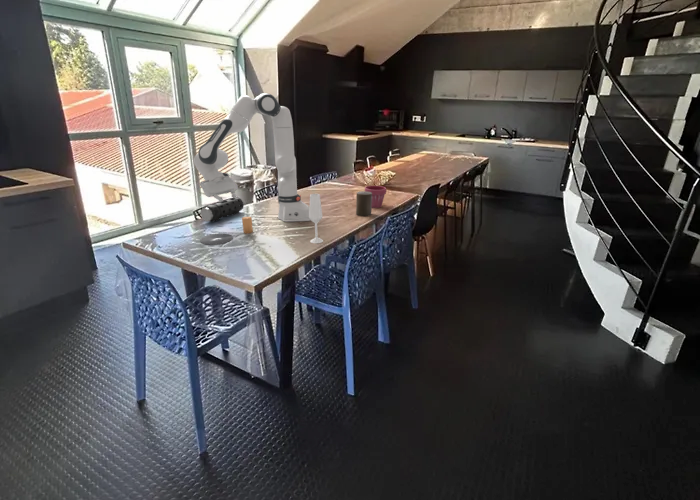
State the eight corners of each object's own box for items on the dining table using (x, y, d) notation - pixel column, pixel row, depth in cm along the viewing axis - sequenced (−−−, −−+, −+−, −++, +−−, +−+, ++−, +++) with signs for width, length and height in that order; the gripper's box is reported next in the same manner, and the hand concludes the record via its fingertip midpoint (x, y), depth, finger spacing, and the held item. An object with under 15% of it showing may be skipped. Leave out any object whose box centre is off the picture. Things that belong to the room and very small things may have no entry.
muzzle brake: (244, 213, 242) (243, 197, 239) (213, 225, 219) (210, 207, 215) (233, 211, 246) (231, 195, 242) (201, 223, 222) (198, 206, 219)
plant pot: (389, 205, 259) (389, 186, 254) (379, 210, 248) (380, 190, 243) (371, 202, 266) (371, 184, 261) (360, 207, 255) (360, 188, 250)
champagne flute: (307, 242, 191) (305, 195, 182) (313, 238, 197) (311, 192, 188) (319, 244, 189) (318, 196, 180) (325, 239, 195) (324, 193, 186)
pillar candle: (363, 217, 232) (364, 193, 227) (352, 213, 239) (353, 190, 234) (374, 214, 238) (375, 191, 233) (364, 211, 245) (364, 188, 240)
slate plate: (237, 234, 202) (237, 233, 202) (225, 245, 187) (225, 244, 187) (209, 233, 204) (209, 232, 204) (194, 244, 189) (194, 243, 189)
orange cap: (254, 230, 208) (252, 216, 206) (251, 233, 204) (249, 219, 201) (245, 230, 209) (244, 216, 206) (242, 233, 204) (240, 219, 201)
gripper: (200, 178, 198) (215, 199, 197) (230, 173, 214) (244, 192, 213) (196, 186, 202) (210, 206, 201) (226, 180, 218) (239, 198, 217)
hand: (228, 199), depth 207 cm, fingers open, 8 cm apart
